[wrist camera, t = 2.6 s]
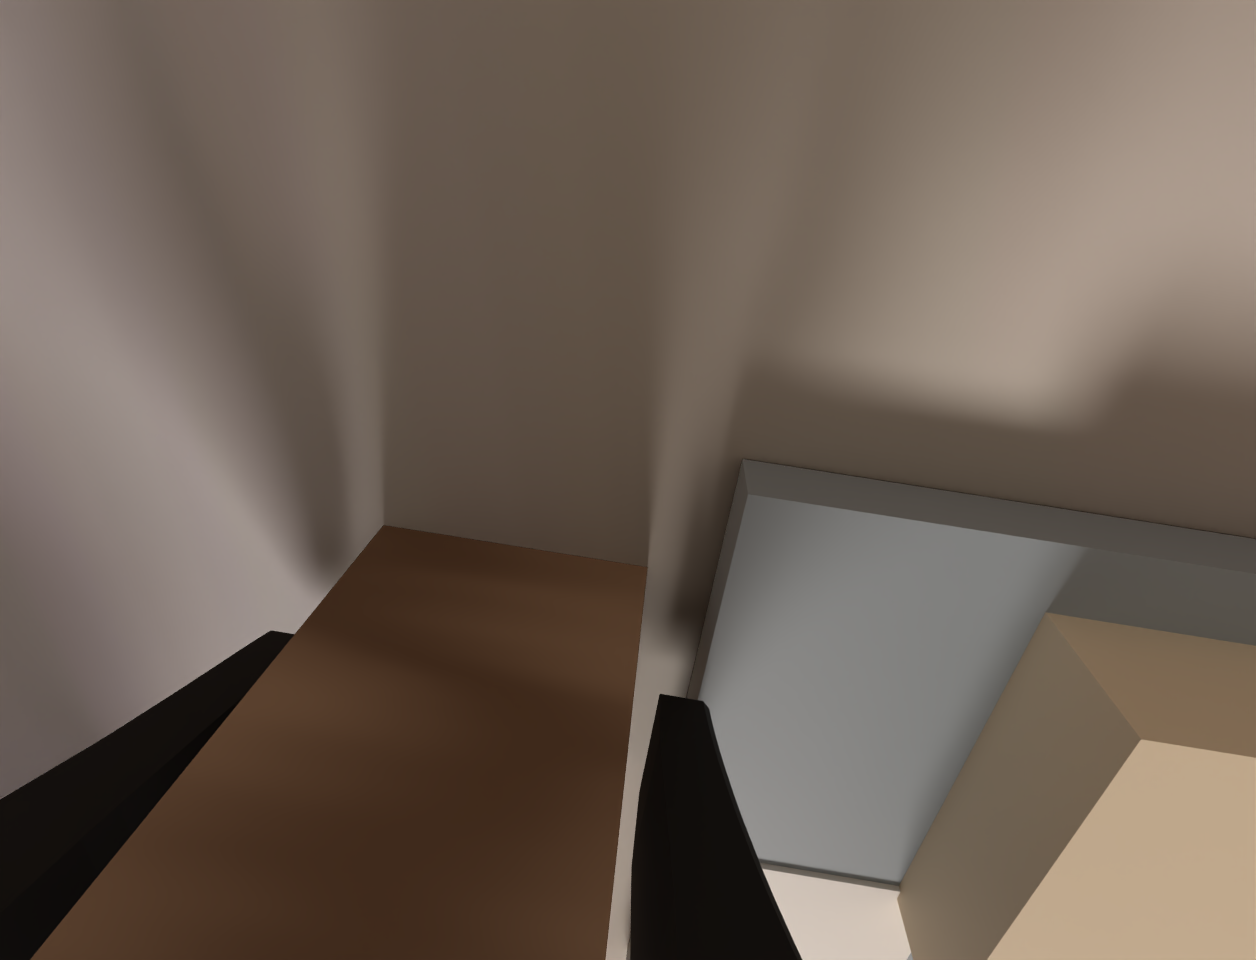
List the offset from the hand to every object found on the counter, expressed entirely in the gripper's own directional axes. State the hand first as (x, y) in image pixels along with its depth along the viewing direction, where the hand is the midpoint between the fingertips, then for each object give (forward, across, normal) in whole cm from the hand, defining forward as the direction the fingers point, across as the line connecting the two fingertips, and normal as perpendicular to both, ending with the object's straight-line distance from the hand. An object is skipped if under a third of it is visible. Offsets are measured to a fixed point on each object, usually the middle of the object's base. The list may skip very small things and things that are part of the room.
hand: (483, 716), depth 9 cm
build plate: (+1, -8, +2) cm, 8 cm away
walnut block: (+2, 0, 0) cm, 2 cm away
